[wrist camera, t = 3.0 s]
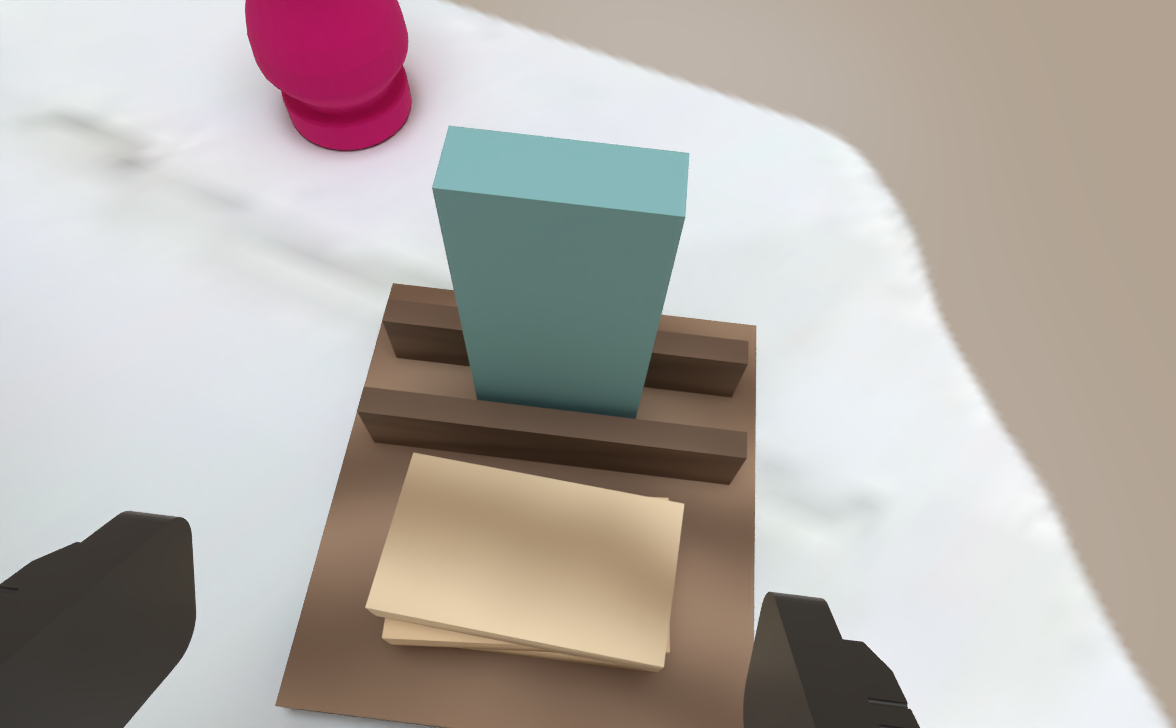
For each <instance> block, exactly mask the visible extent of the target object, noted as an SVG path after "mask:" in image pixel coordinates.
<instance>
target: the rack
mask: <svg viewBox="0 0 1176 728" xmlns="http://www.w3.org/2000/svg"><path fill="white" fill-rule="evenodd" d="M755 419H756V326H753V325H745V324H736V323H728V322H719V321H711V320H702V319H694V318H685V317H676V316H668V315H661V318H660V322H659V326H658V330H657V334H656V338H655V342H654V346H653V350H652V354H651V358H650V362H649V366H648V371H647V375H646V379H645V383H644V387H643V391H642V395H641V399H640V403H639V407H638V411H637V415H636V419H633V418H624V417H616V416H607V415H599V414H591V413H582V412H574V411H565V410H557V409H549V408H540V407H532V406H524V405H515V404H507V403H498V402H490V401H482V400H477V397H476V392H475V387H474V383H473V378H472V373H471V368H470V364H469V359H468V354H467V350H466V345H465V340H464V335H463V331H462V326H461V321H460V317H459V312H458V307H457V302H456V298H455V293H454V290H446V289H437V288H429V287H420V286H411V285H403V284H394V283H393V285H392V288H391V292H390V295H389V299H388V302H387V305H386V309H385V313H384V316H383V320H382V324H381V328H380V331H379V335H378V338H377V342H376V346H375V349H374V353H373V356H372V360H371V364H370V367H369V371H368V374H367V378H366V382H365V385H364V388H363V391H362V395H361V399H360V402H359V406H358V409H357V414H356V417H355V421H354V425H353V428H352V432H351V435H350V439H349V443H348V446H347V450H346V453H345V457H344V461H343V464H342V468H341V471H340V475H339V479H338V482H337V486H336V489H335V493H334V496H333V500H332V504H331V507H330V511H329V514H328V518H327V522H326V525H325V529H324V532H323V536H322V540H321V543H320V547H319V550H318V554H317V558H316V561H315V565H314V568H313V572H312V575H311V579H310V583H309V586H308V590H307V593H306V597H305V601H304V604H303V608H302V611H301V615H300V619H299V622H298V626H297V629H296V633H295V637H294V640H293V644H292V647H291V651H290V654H289V658H288V662H287V665H286V669H285V672H284V676H283V680H282V683H281V687H280V690H279V694H278V698H277V701H276V705H275V706H280V707H286V708H292V709H300V710H308V711H316V712H324V713H332V714H340V715H348V716H356V717H364V718H372V719H380V720H388V721H395V722H403V723H411V724H419V725H427V726H435V727H443V728H744V723H743V702H744V691H745V684H746V679H747V674H748V669H749V664H750V660H751V655H752V650H753V645H754V542H755ZM413 453H419V454H424V455H429V456H434V457H440V458H445V459H450V460H456V461H461V462H466V463H471V464H477V465H482V466H487V467H493V468H498V469H503V470H509V471H514V472H519V473H524V474H530V475H535V476H540V477H546V478H551V479H556V480H561V481H567V482H572V483H577V484H583V485H588V486H593V487H598V488H604V489H609V490H614V491H620V492H625V493H630V494H635V495H641V496H646V497H660V498H669V501H672V502H678V503H683V504H684V512H683V519H682V527H681V535H680V543H679V551H678V559H677V567H676V575H675V583H674V591H673V599H672V607H671V614H670V653H669V654H667V655H666V656H665V662H664V668H662V669H661V670H660V671H659V672H648V671H640V670H632V669H624V668H616V667H608V666H600V665H592V664H584V663H576V662H567V661H559V660H551V659H543V658H535V657H527V656H519V655H511V654H503V653H495V652H487V651H479V650H471V649H463V648H452V647H432V646H411V645H391V644H390V643H388V642H387V641H385V640H384V639H382V634H383V628H384V622H385V618H383V617H378V616H375V615H374V614H373V613H371V612H370V611H369V610H368V609H366V608H365V606H366V603H367V600H368V597H369V594H370V590H371V587H372V584H373V581H374V577H375V574H376V571H377V568H378V565H379V561H380V558H381V555H382V552H383V548H384V545H385V542H386V539H387V536H388V532H389V529H390V526H391V523H392V520H393V516H394V513H395V510H396V507H397V503H398V500H399V497H400V494H401V491H402V487H403V484H404V481H405V478H406V474H407V471H408V468H409V465H410V462H411V458H412V455H413Z"/></svg>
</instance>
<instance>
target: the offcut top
mask: <svg viewBox="0 0 1176 728" xmlns="http://www.w3.org/2000/svg"><path fill="white" fill-rule="evenodd" d="M683 512H684V504H683V503H678V502H672V501H667V500H662V499H657V498H651V497H646V496H641V495H635V494H630V493H625V492H620V491H614V490H609V489H604V488H598V487H593V486H588V485H583V484H577V483H572V482H567V481H561V480H556V479H551V478H546V477H540V476H535V475H530V474H524V473H519V472H514V471H509V470H503V469H498V468H493V467H487V466H482V465H477V464H471V463H466V462H461V461H456V460H450V459H445V458H440V457H434V456H429V455H424V454H419V453H413V455H412V458H411V462H410V465H409V468H408V471H407V474H406V478H405V481H404V484H403V487H402V491H401V494H400V497H399V500H398V503H397V507H396V510H395V513H394V516H393V520H392V523H391V526H390V529H389V532H388V536H387V539H386V542H385V545H384V548H383V552H382V555H381V558H380V561H379V565H378V568H377V571H376V574H375V577H374V581H373V584H372V587H371V590H370V594H369V597H368V600H367V603H366V606H365V608H366V609H368V610H369V611H370V612H371V613H373V614H374V615H375V616H378V617H383V618H388V619H393V620H398V621H403V622H408V623H413V624H418V625H423V626H428V627H433V628H438V629H443V630H448V631H453V632H458V633H463V634H468V635H473V636H478V637H483V638H488V639H493V640H498V641H503V642H508V643H513V644H518V645H523V646H528V647H533V648H538V649H543V650H548V651H553V652H558V653H563V654H568V655H573V656H578V657H583V658H588V659H593V660H598V661H603V662H608V663H613V664H618V665H623V666H628V667H633V668H638V669H643V670H648V671H653V672H659V671H660V670H661V669H662V668H664V662H665V654H666V646H667V638H668V630H669V622H670V614H671V607H672V599H673V591H674V583H675V575H676V567H677V559H678V551H679V543H680V535H681V527H682V519H683Z"/></svg>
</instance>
